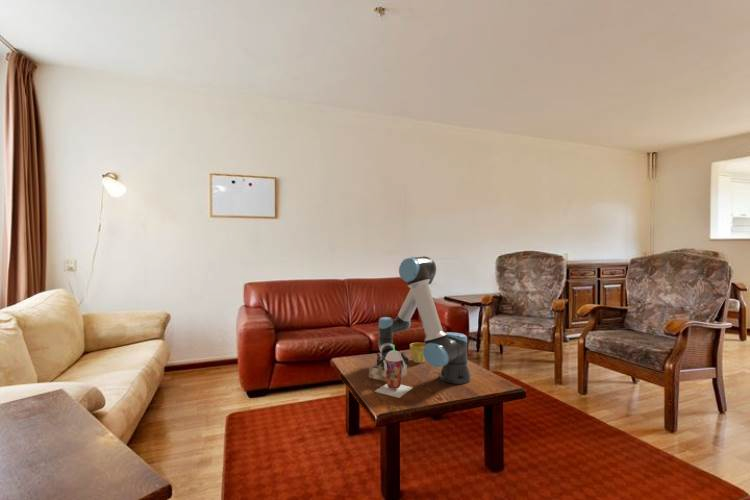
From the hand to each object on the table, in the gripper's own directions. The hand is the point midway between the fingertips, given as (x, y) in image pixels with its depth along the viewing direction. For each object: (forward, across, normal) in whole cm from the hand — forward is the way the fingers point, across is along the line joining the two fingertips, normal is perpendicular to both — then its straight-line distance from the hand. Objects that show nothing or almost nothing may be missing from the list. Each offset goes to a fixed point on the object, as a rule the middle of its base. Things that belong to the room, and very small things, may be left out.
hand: (395, 367), depth 170 cm
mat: (-5, 0, -12) cm, 13 cm away
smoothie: (-5, 0, -11) cm, 12 cm away
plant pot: (-43, -21, -13) cm, 50 cm away
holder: (-23, 0, -13) cm, 26 cm away
